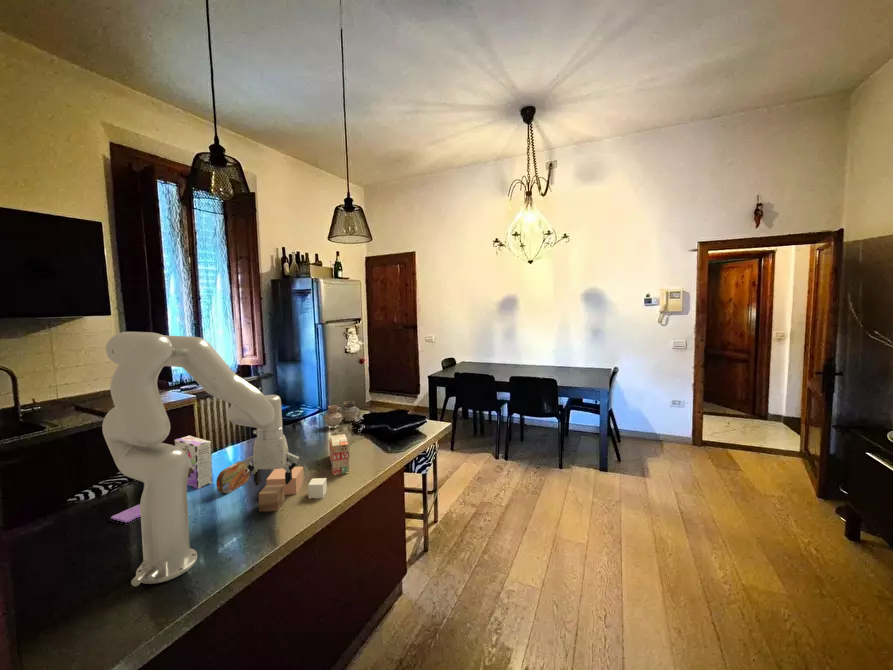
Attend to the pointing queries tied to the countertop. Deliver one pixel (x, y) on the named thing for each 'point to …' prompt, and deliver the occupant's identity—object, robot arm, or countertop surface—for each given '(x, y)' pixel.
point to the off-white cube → (317, 488)
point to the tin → (233, 477)
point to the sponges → (128, 514)
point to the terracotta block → (279, 479)
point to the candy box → (197, 460)
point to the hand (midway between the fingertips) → (273, 482)
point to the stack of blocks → (339, 454)
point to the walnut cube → (271, 498)
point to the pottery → (345, 412)
